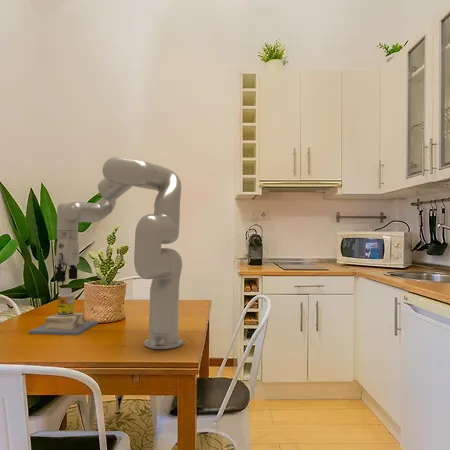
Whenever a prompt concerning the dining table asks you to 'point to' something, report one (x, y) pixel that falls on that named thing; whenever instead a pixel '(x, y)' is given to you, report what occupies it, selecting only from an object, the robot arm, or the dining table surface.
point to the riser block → (64, 321)
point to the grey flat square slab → (73, 331)
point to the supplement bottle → (65, 302)
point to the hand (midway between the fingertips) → (67, 280)
